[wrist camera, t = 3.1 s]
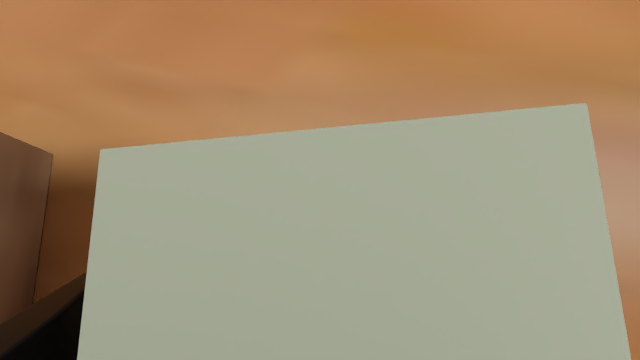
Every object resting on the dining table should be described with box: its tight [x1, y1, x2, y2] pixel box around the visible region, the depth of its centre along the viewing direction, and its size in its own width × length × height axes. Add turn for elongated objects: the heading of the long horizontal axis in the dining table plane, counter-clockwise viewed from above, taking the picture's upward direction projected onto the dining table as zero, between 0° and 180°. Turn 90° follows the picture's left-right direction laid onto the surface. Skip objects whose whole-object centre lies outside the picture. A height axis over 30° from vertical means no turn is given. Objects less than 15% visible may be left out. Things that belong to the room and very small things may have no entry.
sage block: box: [77, 103, 631, 360], centre depth 9 cm, size 6×6×10 cm
